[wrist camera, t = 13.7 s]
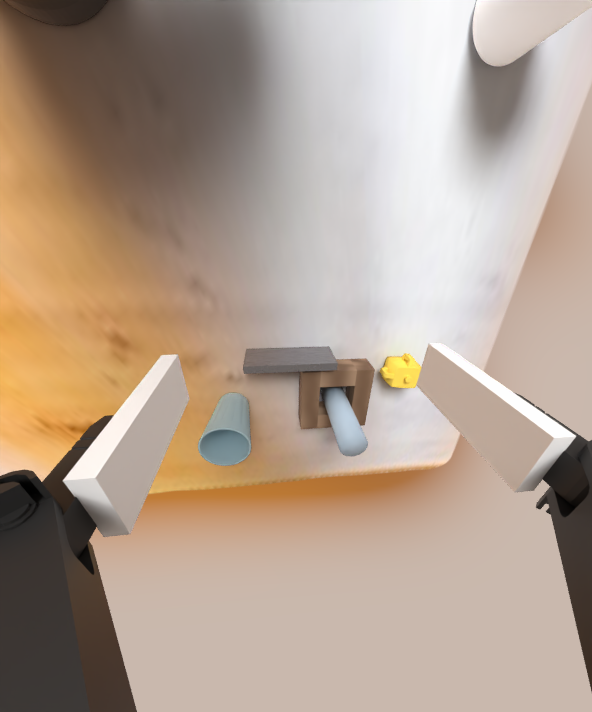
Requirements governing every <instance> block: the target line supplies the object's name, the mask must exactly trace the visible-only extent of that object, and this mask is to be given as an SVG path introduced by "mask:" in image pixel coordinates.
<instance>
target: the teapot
mask: <svg viewBox="0 0 592 712" xmlns="http://www.w3.org/2000/svg"><path fill="white" fill-rule="evenodd" d="M420 371H421V367H420V365H419V364H418V363H417V362H416V361H415V359H414V358H413V357H412V356H411V355H410V354H404V355H403V356H402V357H387V359H386V362H385V365H384V368H381V370H380V373H381V374H382V378H383V379H384V380H385V381H386V382H387V383H388V384H389V385H390V386H391V387H398V388H415V387H416V384H417V381H418V378H419V374H420Z"/></svg>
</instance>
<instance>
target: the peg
mask: <svg viewBox="0 0 592 712" xmlns="http://www.w3.org/2000/svg"><path fill="white" fill-rule="evenodd" d="M320 391H321V394H322V397H323V400H324V403H325V406H326V409H327V413H328V416H329V419H330V422H331V425H332V428H333V431H334V434H335V437H336V440H337V443H338V446H339V450H340V452H341V453H342V454H343V455H345V456H356V455H359V454H361V453H362V452H364V451H365V450H366V448H367V446H368V441H367V439H366V437H365V435H364V433H363V431H362V428H361V426H360V424H359V422H358V420H357V418H356V416H355V414H354V412H353V409H352V407H351V405H350V403H349V401H348V399H347V397H346V395H345V392H344V390H343V388H342V386H339V387H320Z"/></svg>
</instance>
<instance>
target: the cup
mask: <svg viewBox="0 0 592 712" xmlns="http://www.w3.org/2000/svg"><path fill="white" fill-rule="evenodd" d="M198 450H199V453H200V454H201V456H202V457H203V458H204V459H205V460H207V461H208V462H210V463H213V464H216V465H221V466H229V465H234V464H238V463H240V462H242V461H243V460H245V459H246V458H247V457H248V455H249V454H250V451H251V436H250V417H249V403H248V400H247V399H246V397H244V396H243V395H241V394H239V393H228V394H225V395H224V396H222V397H221V399H220V400H219V402H218V404H217V406H216V408H215V410H214V412H213V414H212V416H211V418H210V420H209V422H208V424H207V426H206V428H205V430H204V432H203V434H202V436H201V438H200V440H199V443H198Z"/></svg>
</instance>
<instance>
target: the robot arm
mask: <svg viewBox="0 0 592 712" xmlns="http://www.w3.org/2000/svg"><path fill="white" fill-rule="evenodd" d="M4 1H5V2H7V3H8V4H9V5H11V6H12V7H14V8H15V9H17V10H18V11H20V12H22V13H24V14H25V15H27V16H30V17H32V18H34V19H36V20H39V21H42V22H45V23H49V24H55V25H73V24H77V23H80V22H83V21H85V20H88V19H89V18H91V17H92V16H94V15H95V14H96V13H97V12H98V11H99V10H100V9H101V8H102V7H103V6H104V4H105V3H106V1H107V0H4ZM416 385H417V386H418V388H419V389H420V390H421V391H422V392H423V393H424V394H425V395H426V396H427V397H428V398H429V400H430V401H431V402H432V403H433V404H434V405H435V406H436V407H437V408H438V409H439V410H440V412H441V413H442V414H443V415H444V416H445V417H446V418H447V419H448V420H449V421H450V422H451V423H452V425H453V426H454V427H455V428H456V429H457V430H458V431H459V432H460V433H461V434H462V435H463V436H464V438H465V439H466V440H467V441H468V442H469V443H470V444H471V445H472V446H473V447H474V449H475V450H476V451H477V452H478V453H479V454H480V455H481V456H482V457H483V458H484V459H485V461H486V462H487V463H488V464H489V465H490V466H491V467H492V468H493V469H494V470H495V471H496V472H497V473H498V475H499V476H500V477H501V478H502V479H503V480H504V481H505V482H506V483H507V485H508V486H509V487H510V488H511V489H512V490H513V491H514V492H523V491H532V490H534V489H535V488H536V487H537V485H538V484H539V483H540V482H541V481H542V479H543V480H544V481H545V482H546V483H547V484H549V486H551V487H550V488H549V489H548V490H547V491H546V493H545V494H544V495H543V496H542V497H541V499H540V500H539V501H538V502H537V505H536V508H538V509H541V508H542V507H543V506H544V504H549V508H548V510H547V511H546V512H547V513H549V514H551V517H552V521H553V525H554V530H555V534H556V539H557V543H558V547H559V552H560V556H561V560H562V564H563V569H564V573H565V577H566V582H567V586H568V591H569V595H570V599H571V604H572V608H573V612H574V617H575V621H576V626H577V630H578V634H579V639H580V643H581V647H582V652H583V656H584V660H585V664H586V669H587V673H588V677H589V682H590V686H591V691H592V440H591V441H587V440H585V439H584V438H583V437H581V436H580V435H578V434H577V433H575V432H574V431H572V430H571V429H569V428H568V427H566V426H565V425H564V424H562V423H561V422H559V421H558V420H556V419H555V418H553V417H552V416H550V415H549V414H545V412H544V411H543V410H542V409H540V408H539V407H537V406H534V404H532V403H531V402H530V401H528V400H527V399H525V398H524V397H522V396H521V395H518V394H516V393H514V392H512V391H510V390H509V389H507V388H506V387H504V386H503V385H502V384H500V383H499V382H497V381H496V380H494V379H493V378H491V377H490V376H489V375H487V374H486V373H484V372H483V371H481V370H480V369H479V368H477V367H476V366H474V365H473V364H471V363H470V362H468V361H467V360H466V359H464V358H463V357H461V356H460V355H458V354H457V353H455V352H454V351H453V350H451V349H450V348H448V347H447V346H445V345H444V344H442V343H433V344H428V348H427V351H426V354H425V358H424V361H423V364H422V368H421V371H420V374H419V378H418V381H417V384H416ZM188 401H189V395H188V391H187V387H186V383H185V379H184V376H183V372H182V368H181V364H180V360H179V356H178V354H176V355H161V357H160V358H159V359H158V360H157V362H156V363H155V364H154V366H153V367H152V368H151V369H150V371H149V372H148V373H147V374H146V376H145V377H144V378H143V380H142V381H141V382H140V383H139V385H138V386H137V387H136V388H135V390H134V391H133V392H132V393H131V395H130V396H129V397H128V399H127V400H126V401H125V402H124V404H123V405H122V406H121V407H120V409H119V410H118V411H117V413H116V414H115V415H111V416H104V417H103V418H101V419H100V420H98V421H97V422H96V423H94V424H93V425H91V426H90V427H89V429H88V430H87V431H86V432H85V433H84V434H83V435H82V437H81V438H80V440H78V441H77V442H76V444H75V445H74V446H73V447H72V450H70V451H69V452H68V453H67V454H66V455H65V456H64V457H63V459H62V460H61V461H60V462H59V463H58V464H57V466H56V467H55V468H54V469H53V470H52V471H51V473H50V474H49V475H48V476H47V477H46V478H45V480H44V481H43V482H41V481H40V479H39V478H38V477H37V476H36V474H35V473H34V472H33V471H29V470H19V471H13V472H10V473H7V474H4V475H2V476H0V712H137V710H136V706H135V703H134V699H133V695H132V692H131V688H130V684H129V680H128V677H127V673H126V669H125V666H124V662H123V658H122V654H121V651H120V647H119V643H118V640H117V636H116V632H115V628H114V625H113V621H112V617H111V614H110V610H109V606H108V602H107V599H106V595H105V591H104V587H103V584H102V580H101V577H100V573H99V569H98V565H97V561H96V558H95V554H94V550H93V547H92V545H91V543H90V542H89V539H90V538H91V536H92V534H93V532H94V530H95V529H96V527H97V528H98V530H99V531H100V532H101V534H102V535H103V537H109V536H118V535H127V534H130V533H131V531H132V529H133V527H134V524H135V522H136V520H137V518H138V515H139V513H140V511H141V508H142V506H143V504H144V502H145V499H146V497H147V495H148V492H149V490H150V488H151V486H152V483H153V481H154V479H155V476H156V474H157V472H158V470H159V467H160V465H161V463H162V460H163V458H164V456H165V453H166V451H167V449H168V447H169V444H170V442H171V440H172V437H173V435H174V433H175V431H176V428H177V426H178V424H179V421H180V419H181V417H182V415H183V412H184V410H185V408H186V405H187V403H188Z"/></svg>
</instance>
